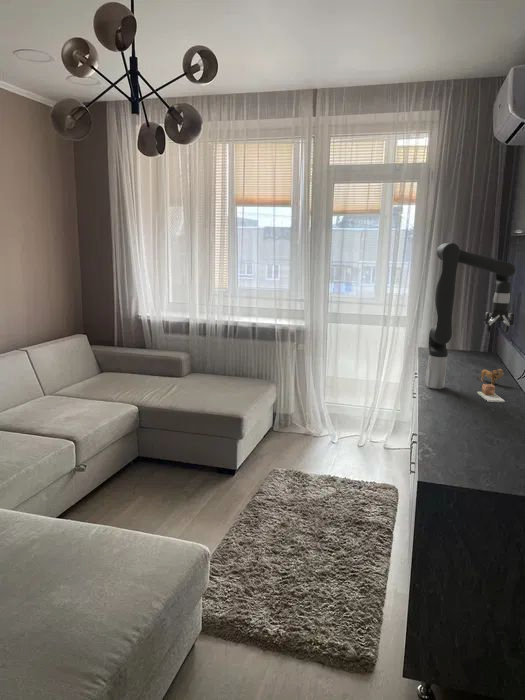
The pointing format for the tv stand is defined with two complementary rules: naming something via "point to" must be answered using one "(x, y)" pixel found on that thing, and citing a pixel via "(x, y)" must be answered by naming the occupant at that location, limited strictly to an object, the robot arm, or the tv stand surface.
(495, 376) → the lion figurine
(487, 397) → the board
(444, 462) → the tv stand surface
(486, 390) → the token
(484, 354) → the tv stand surface
